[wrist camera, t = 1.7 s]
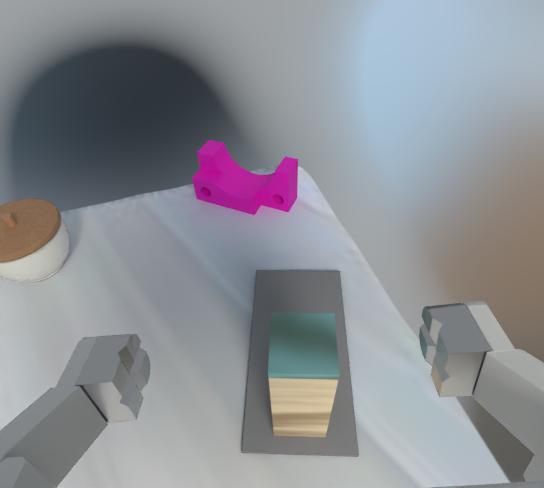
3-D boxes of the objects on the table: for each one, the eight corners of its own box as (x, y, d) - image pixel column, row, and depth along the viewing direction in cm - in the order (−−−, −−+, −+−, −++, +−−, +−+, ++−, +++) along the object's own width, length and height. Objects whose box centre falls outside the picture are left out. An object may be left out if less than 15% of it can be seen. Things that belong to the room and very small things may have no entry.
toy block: (197, 199, 63) (188, 161, 57) (215, 177, 67) (209, 139, 61) (282, 223, 58) (281, 184, 53) (296, 198, 62) (297, 159, 57)
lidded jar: (93, 268, 53) (64, 219, 46) (11, 310, 49) (-34, 263, 42) (67, 226, 59) (38, 177, 52) (-8, 261, 55) (-51, 212, 48)
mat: (358, 456, 36) (358, 455, 36) (242, 452, 37) (241, 451, 37) (339, 273, 51) (339, 271, 51) (257, 272, 52) (256, 270, 51)
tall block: (325, 436, 37) (339, 374, 27) (273, 435, 37) (268, 373, 27) (322, 386, 41) (334, 313, 30) (275, 384, 41) (270, 312, 31)
